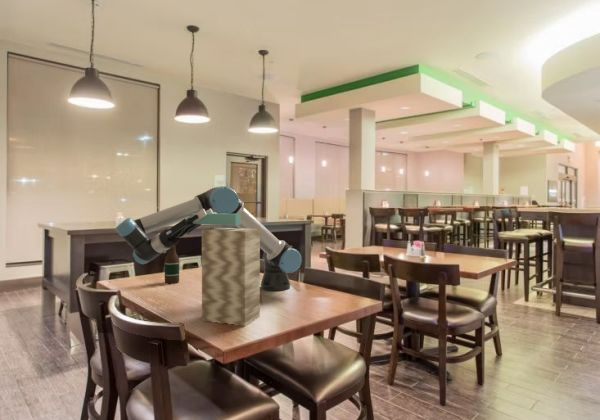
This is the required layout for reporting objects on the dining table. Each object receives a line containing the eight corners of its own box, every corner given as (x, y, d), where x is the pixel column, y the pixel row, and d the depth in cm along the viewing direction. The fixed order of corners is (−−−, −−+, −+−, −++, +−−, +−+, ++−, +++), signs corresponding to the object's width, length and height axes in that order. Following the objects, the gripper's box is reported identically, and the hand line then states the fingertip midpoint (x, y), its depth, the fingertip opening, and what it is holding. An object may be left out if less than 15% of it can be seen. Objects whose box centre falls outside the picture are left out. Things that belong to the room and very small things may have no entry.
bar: (189, 223, 149) (189, 213, 149) (195, 223, 153) (195, 213, 153) (235, 225, 143) (235, 214, 142) (240, 224, 146) (240, 213, 146)
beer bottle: (174, 284, 205) (174, 239, 204) (161, 283, 206) (161, 239, 206) (182, 281, 212) (182, 238, 212) (169, 280, 214) (169, 237, 213)
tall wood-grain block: (202, 320, 144) (201, 229, 143) (219, 312, 155) (219, 227, 154) (245, 326, 138) (245, 231, 137) (259, 316, 149) (259, 229, 148)
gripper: (182, 245, 163) (224, 219, 156) (154, 251, 147) (199, 221, 140) (175, 230, 164) (216, 203, 157) (146, 233, 148) (191, 203, 141)
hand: (208, 211), depth 149 cm, fingers closed on bar, 4 cm apart
